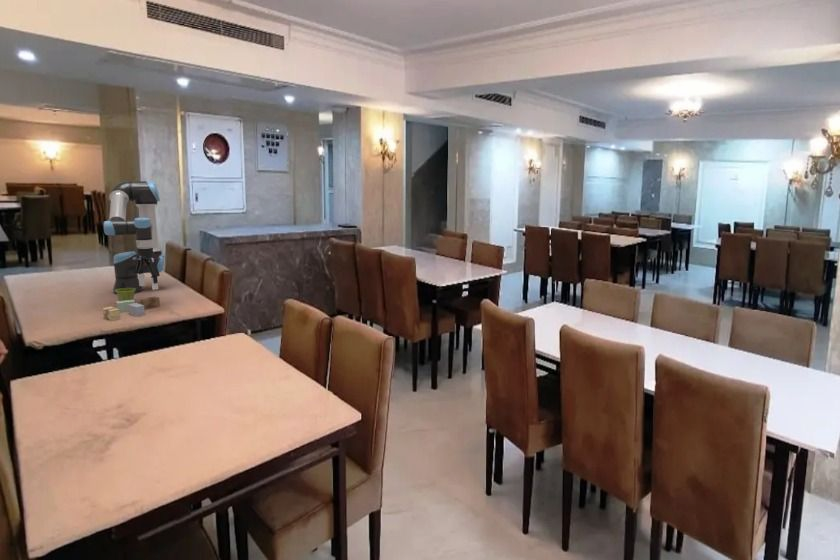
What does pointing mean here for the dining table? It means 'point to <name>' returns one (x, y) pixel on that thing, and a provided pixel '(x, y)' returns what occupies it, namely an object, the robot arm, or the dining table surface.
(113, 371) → the dining table surface
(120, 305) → the sage brick
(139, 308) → the grey brick
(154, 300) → the walnut brick
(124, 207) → the robot arm
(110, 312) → the oak brick
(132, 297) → the plant pot
